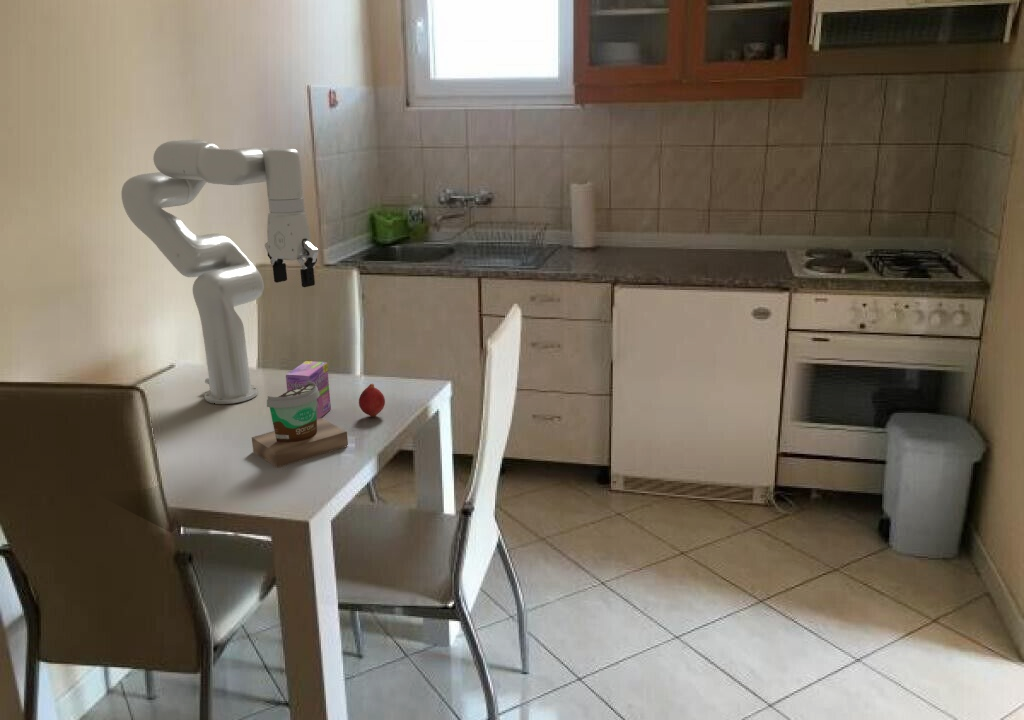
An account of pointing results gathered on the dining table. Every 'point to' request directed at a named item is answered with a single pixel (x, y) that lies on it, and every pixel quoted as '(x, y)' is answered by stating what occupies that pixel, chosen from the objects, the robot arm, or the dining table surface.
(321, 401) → the box
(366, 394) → the onion
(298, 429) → the food container
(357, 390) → the dining table surface
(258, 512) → the dining table surface
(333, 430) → the brown flat block
